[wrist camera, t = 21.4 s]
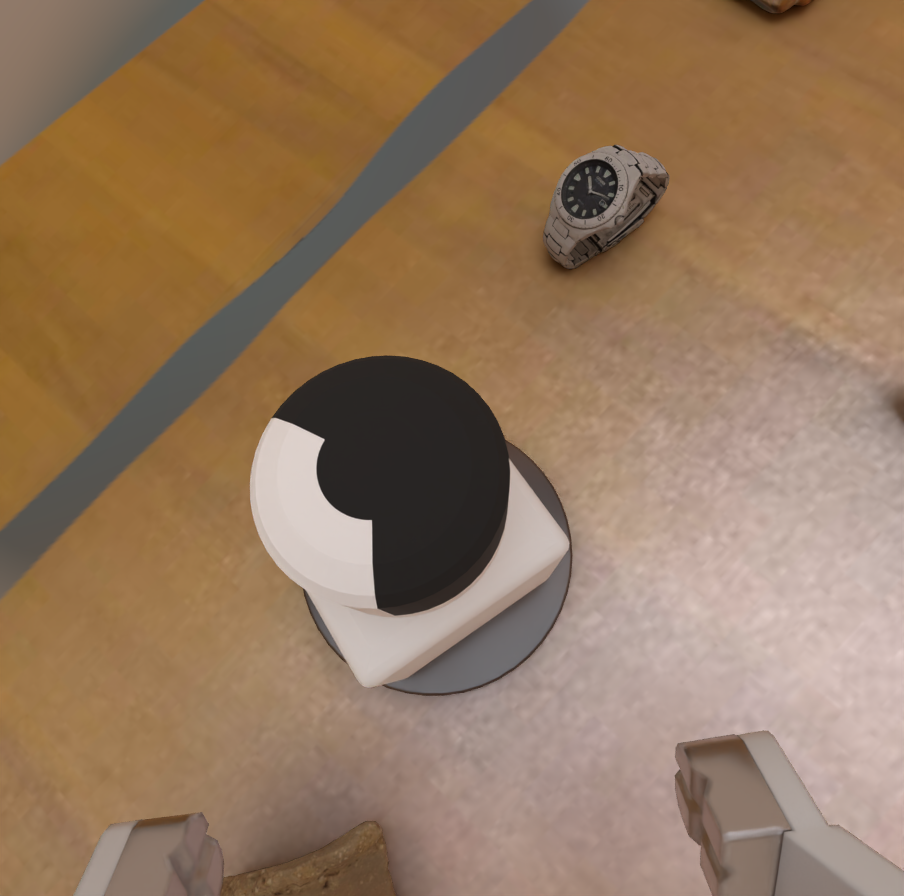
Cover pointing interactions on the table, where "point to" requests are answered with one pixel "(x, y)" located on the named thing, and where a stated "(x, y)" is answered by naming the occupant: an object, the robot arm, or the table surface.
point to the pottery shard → (325, 870)
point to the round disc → (503, 635)
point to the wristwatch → (601, 202)
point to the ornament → (779, 4)
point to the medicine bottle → (398, 511)
